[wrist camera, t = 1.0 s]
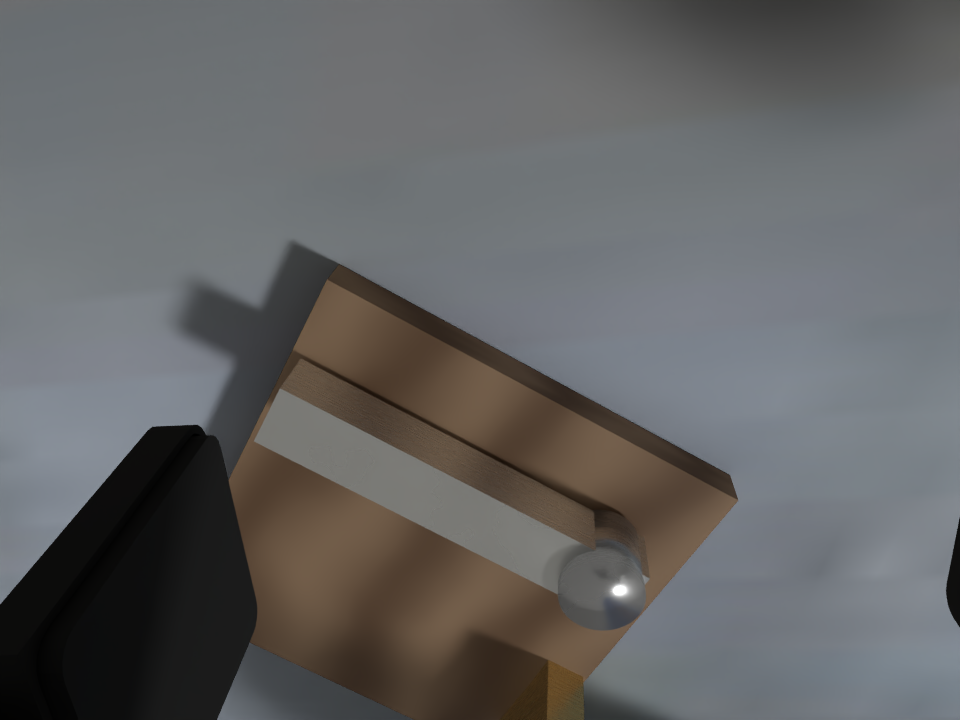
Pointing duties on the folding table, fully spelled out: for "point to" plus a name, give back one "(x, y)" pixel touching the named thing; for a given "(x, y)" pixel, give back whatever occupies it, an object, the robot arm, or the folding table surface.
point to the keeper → (550, 696)
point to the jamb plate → (427, 555)
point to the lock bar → (461, 495)
